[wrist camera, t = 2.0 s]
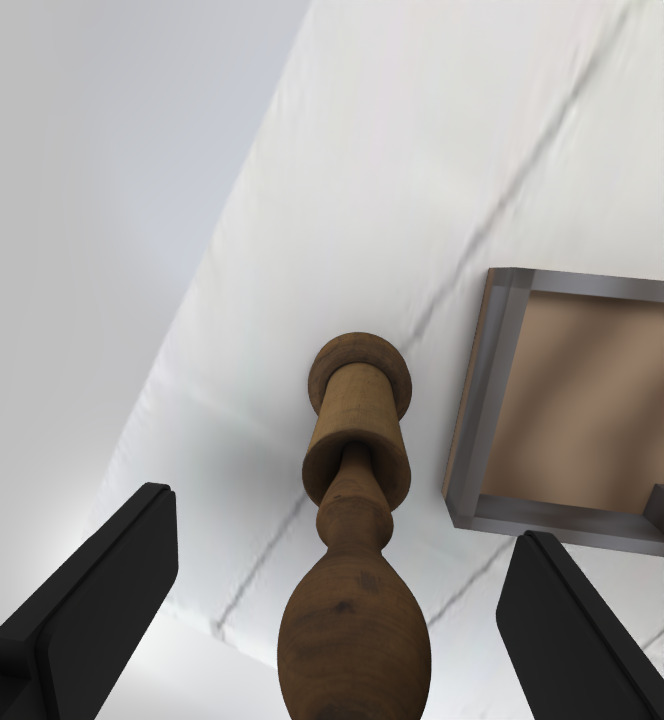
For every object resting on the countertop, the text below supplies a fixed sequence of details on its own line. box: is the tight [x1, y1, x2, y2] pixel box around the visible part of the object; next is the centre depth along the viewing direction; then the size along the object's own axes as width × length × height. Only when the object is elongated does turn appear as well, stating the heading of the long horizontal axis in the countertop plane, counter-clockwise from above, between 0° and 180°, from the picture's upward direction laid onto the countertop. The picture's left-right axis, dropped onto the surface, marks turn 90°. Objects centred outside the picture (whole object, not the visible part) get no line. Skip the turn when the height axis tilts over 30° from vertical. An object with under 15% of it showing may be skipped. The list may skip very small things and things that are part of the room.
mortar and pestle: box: [277, 332, 431, 720], centre depth 14 cm, size 7×6×18 cm
